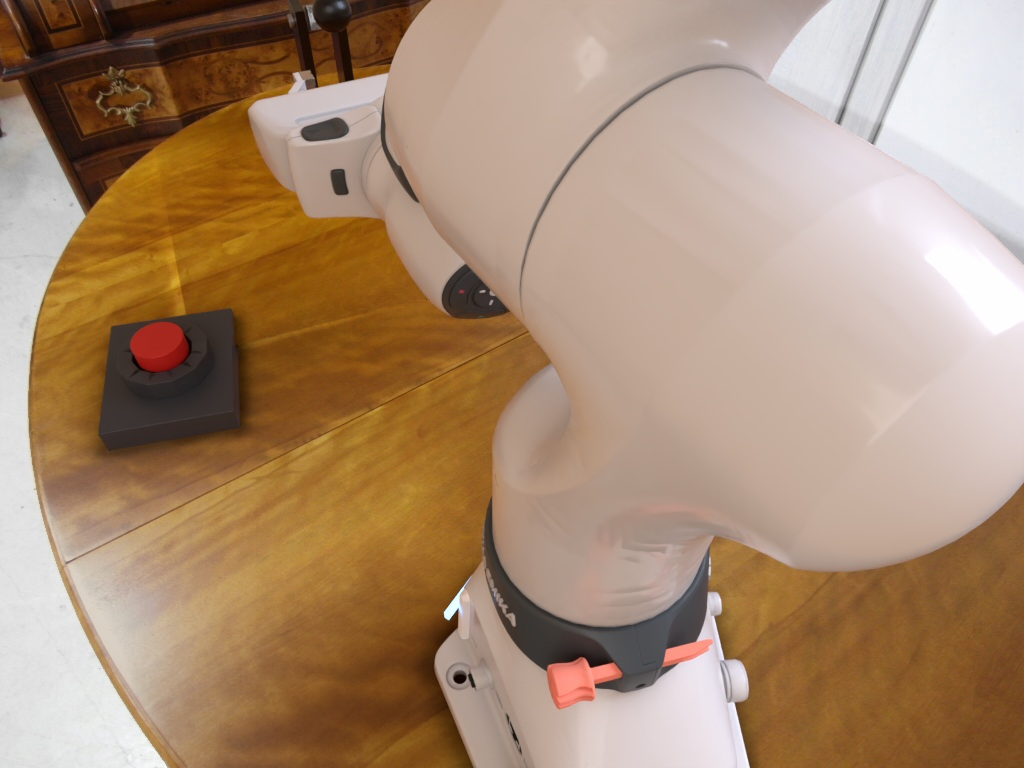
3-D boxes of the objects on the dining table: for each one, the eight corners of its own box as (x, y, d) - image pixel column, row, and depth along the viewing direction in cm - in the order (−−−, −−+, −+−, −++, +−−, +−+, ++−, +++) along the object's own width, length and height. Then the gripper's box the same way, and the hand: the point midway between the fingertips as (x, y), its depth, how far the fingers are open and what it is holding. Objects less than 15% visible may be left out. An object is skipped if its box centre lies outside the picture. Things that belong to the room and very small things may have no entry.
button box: (240, 427, 62) (227, 395, 59) (108, 451, 60) (88, 419, 57) (237, 325, 70) (225, 292, 67) (120, 343, 68) (102, 310, 65)
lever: (358, 29, 72) (349, -14, 71) (320, 35, 71) (310, -9, 70) (336, 33, 84) (328, -4, 82) (303, 38, 83) (294, 1, 82)
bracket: (379, 141, 90) (363, 12, 79) (311, 155, 88) (284, 23, 76) (359, 104, 95) (342, -23, 84) (294, 116, 93) (267, -13, 82)
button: (189, 368, 61) (182, 352, 60) (136, 376, 61) (128, 361, 59) (189, 333, 64) (183, 317, 63) (138, 341, 63) (131, 325, 62)
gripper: (541, 85, 57) (470, 7, 65) (265, 148, 52) (226, 55, 60) (538, 159, 62) (473, 78, 70) (286, 224, 57) (246, 128, 65)
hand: (357, 68), depth 65 cm, fingers open, 8 cm apart
